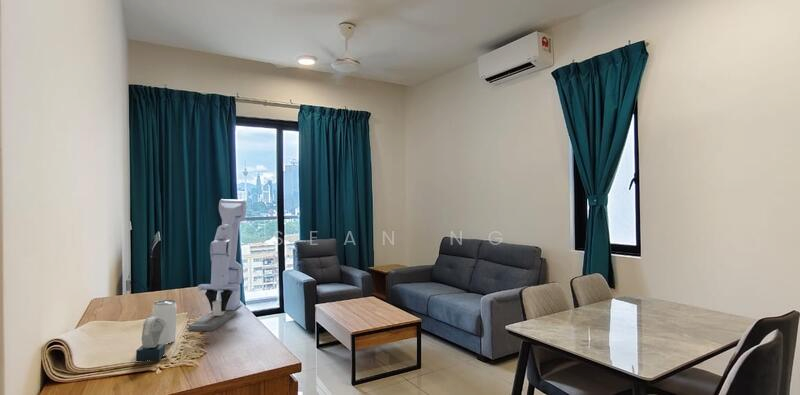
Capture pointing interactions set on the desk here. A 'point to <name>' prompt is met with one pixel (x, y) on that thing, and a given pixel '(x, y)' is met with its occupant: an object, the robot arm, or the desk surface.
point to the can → (166, 319)
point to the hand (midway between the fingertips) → (218, 310)
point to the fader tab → (217, 308)
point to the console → (211, 322)
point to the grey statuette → (151, 340)
